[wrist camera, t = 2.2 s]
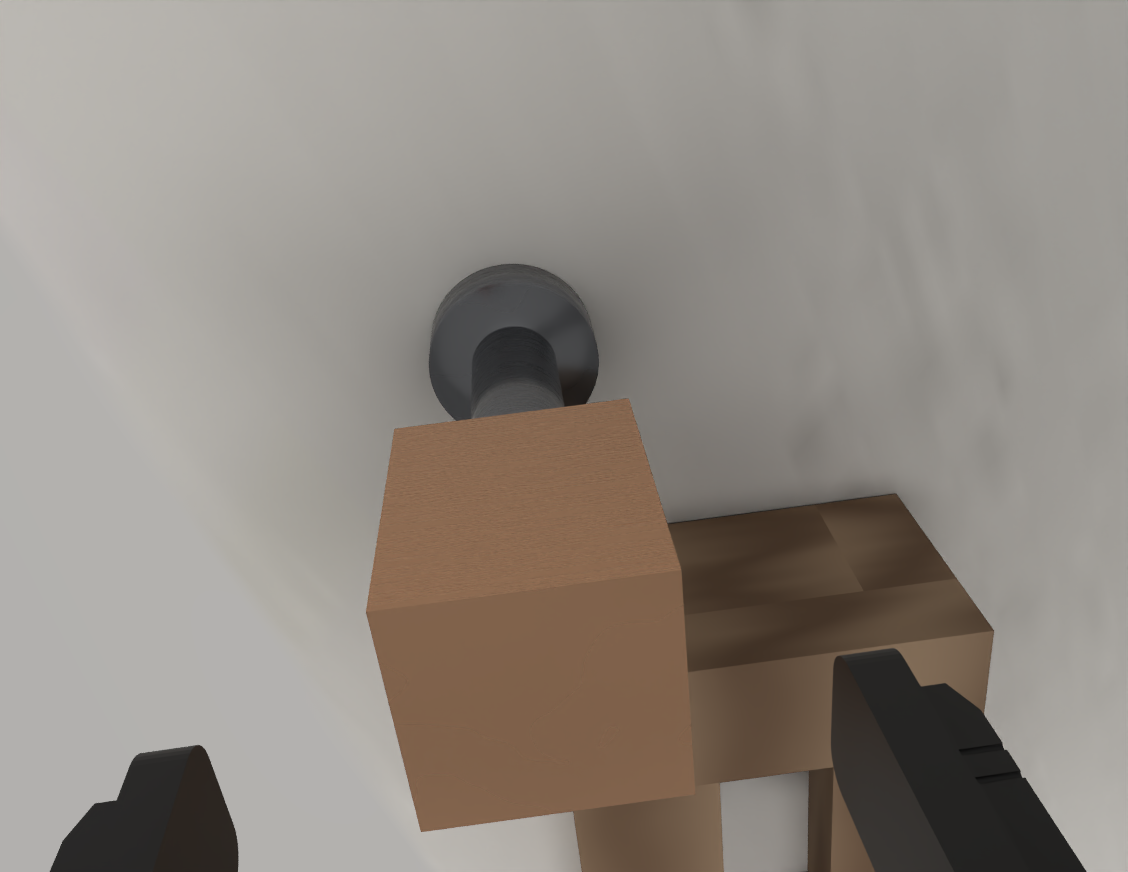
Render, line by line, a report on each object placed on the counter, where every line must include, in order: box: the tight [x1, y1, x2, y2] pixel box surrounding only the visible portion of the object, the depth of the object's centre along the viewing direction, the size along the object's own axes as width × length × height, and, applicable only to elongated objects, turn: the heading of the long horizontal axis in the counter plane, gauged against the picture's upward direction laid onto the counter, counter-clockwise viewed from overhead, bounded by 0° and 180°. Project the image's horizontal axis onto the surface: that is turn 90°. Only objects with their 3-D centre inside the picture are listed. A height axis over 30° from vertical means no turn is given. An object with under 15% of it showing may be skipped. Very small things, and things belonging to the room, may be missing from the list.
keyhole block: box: [573, 494, 994, 872], centre depth 29 cm, size 10×16×6 cm, turn 6°
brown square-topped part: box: [366, 264, 695, 832], centre depth 19 cm, size 4×4×13 cm
